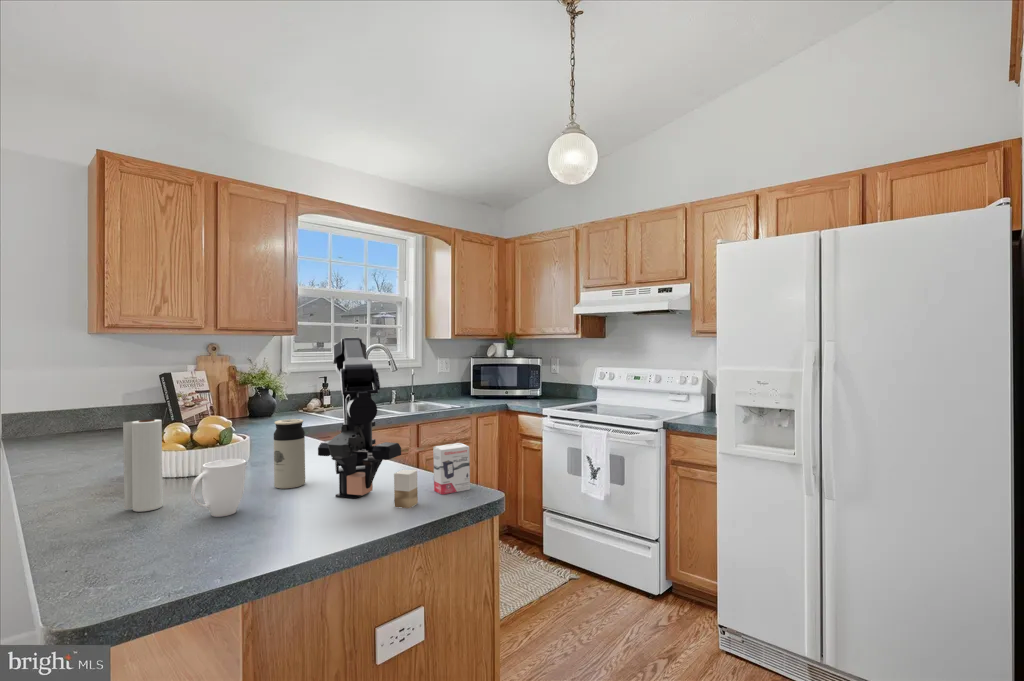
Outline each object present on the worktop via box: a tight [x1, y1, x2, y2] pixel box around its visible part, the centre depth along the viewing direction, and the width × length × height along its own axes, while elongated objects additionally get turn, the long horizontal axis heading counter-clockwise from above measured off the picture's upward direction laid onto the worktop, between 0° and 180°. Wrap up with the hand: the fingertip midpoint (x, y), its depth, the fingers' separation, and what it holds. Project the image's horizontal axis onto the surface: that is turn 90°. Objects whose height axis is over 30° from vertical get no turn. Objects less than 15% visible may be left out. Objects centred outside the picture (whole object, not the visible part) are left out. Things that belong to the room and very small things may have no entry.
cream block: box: [393, 469, 418, 491], centre depth 129 cm, size 4×4×4 cm
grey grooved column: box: [122, 418, 164, 513], centre depth 130 cm, size 7×6×21 cm
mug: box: [190, 458, 247, 518], centre depth 123 cm, size 12×9×12 cm
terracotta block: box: [347, 472, 374, 496], centre depth 121 cm, size 4×4×4 cm
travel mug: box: [273, 418, 306, 490], centre depth 149 cm, size 8×8×18 cm
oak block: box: [393, 487, 419, 509], centre depth 129 cm, size 4×4×4 cm
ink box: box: [432, 442, 471, 496], centre depth 141 cm, size 8×5×12 cm, turn 123°
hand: (359, 487), depth 121 cm, fingers closed on terracotta block, 4 cm apart
